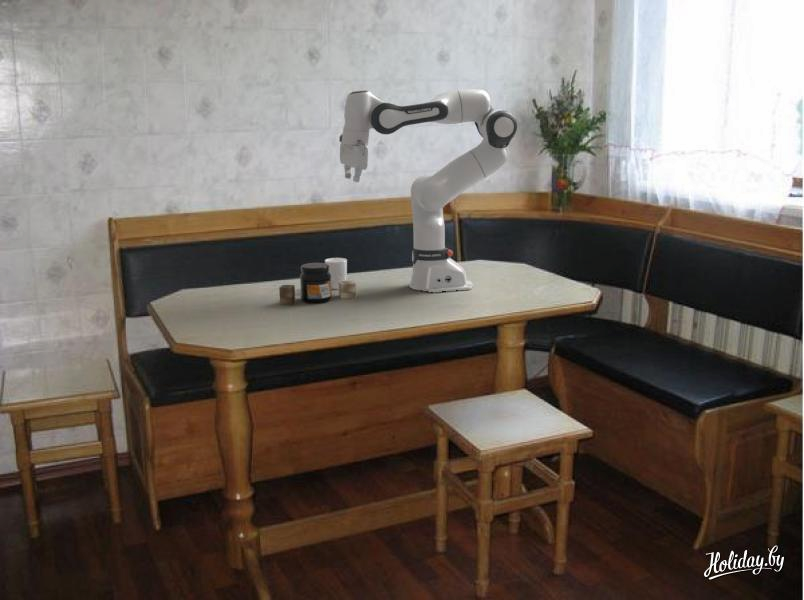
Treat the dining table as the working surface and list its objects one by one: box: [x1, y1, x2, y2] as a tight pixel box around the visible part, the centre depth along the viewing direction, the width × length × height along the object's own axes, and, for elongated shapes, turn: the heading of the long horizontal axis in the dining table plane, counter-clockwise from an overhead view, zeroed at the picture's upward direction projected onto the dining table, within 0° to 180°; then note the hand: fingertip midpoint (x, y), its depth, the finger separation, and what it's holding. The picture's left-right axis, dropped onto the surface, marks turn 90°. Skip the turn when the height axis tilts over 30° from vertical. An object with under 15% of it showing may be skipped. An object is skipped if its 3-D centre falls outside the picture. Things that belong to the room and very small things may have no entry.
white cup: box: [324, 257, 348, 290], centre depth 305 cm, size 8×8×10 cm
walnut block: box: [278, 284, 296, 306], centre depth 283 cm, size 4×4×6 cm
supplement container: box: [299, 262, 333, 304], centre depth 287 cm, size 10×10×12 cm
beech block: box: [338, 280, 357, 300], centre depth 292 cm, size 5×5×5 cm
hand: (351, 180), depth 292 cm, fingers open, 8 cm apart
